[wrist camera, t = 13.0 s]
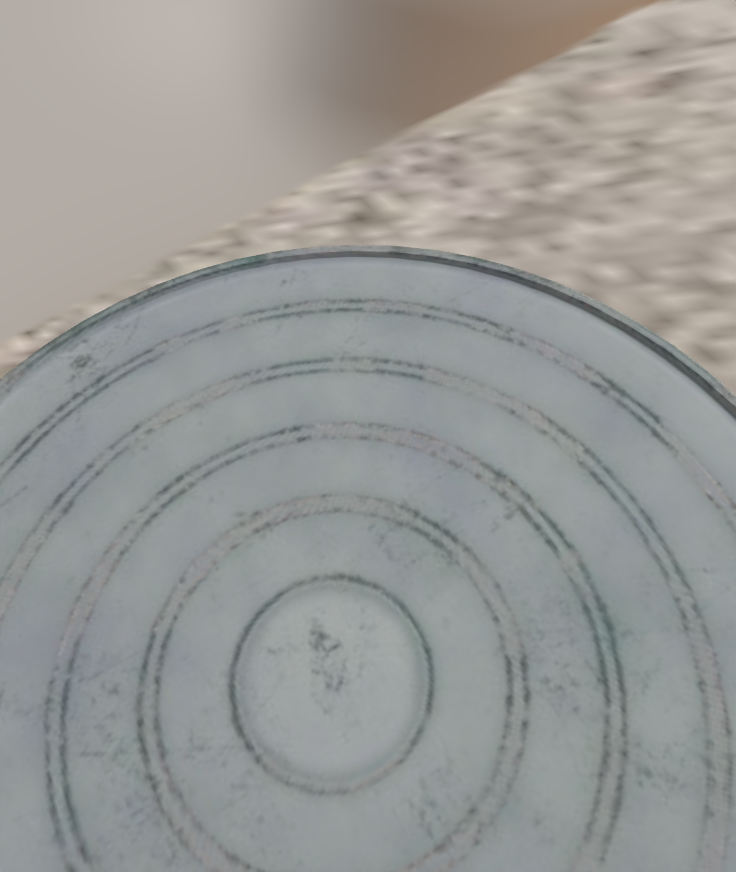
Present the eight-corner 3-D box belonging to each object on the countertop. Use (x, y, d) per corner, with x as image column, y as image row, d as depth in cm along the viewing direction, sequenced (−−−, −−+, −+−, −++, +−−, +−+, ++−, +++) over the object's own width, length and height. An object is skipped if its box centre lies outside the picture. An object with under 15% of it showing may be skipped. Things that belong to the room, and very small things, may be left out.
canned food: (76, 783, 17) (-492, 825, 6) (334, 457, 21) (259, 134, 10) (441, 1137, 14) (580, 2560, 3) (670, 673, 17) (1097, 537, 7)
